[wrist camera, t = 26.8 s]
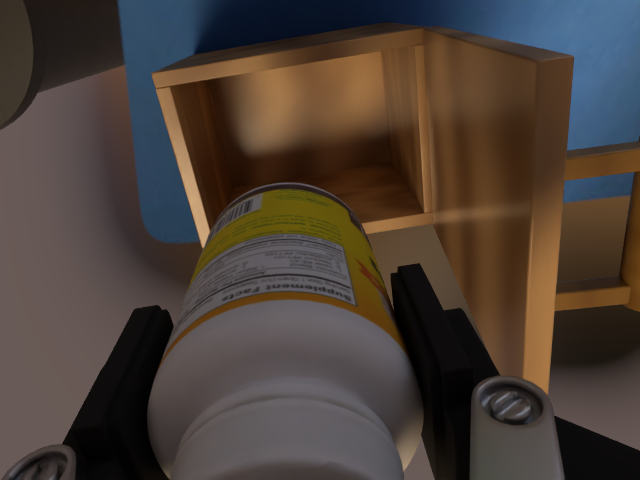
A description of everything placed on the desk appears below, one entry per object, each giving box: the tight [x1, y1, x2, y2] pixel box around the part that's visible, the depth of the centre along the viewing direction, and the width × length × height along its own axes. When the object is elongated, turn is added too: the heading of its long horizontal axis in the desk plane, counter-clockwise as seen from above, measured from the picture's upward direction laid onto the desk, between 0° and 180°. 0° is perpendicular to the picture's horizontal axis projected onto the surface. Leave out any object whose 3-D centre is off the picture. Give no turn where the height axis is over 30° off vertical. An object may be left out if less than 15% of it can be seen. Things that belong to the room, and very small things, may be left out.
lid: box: [423, 26, 640, 395], centre depth 20 cm, size 15×11×5 cm
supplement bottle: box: [147, 183, 424, 480], centre depth 12 cm, size 6×6×10 cm
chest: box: [151, 22, 433, 248], centre depth 32 cm, size 15×11×12 cm
